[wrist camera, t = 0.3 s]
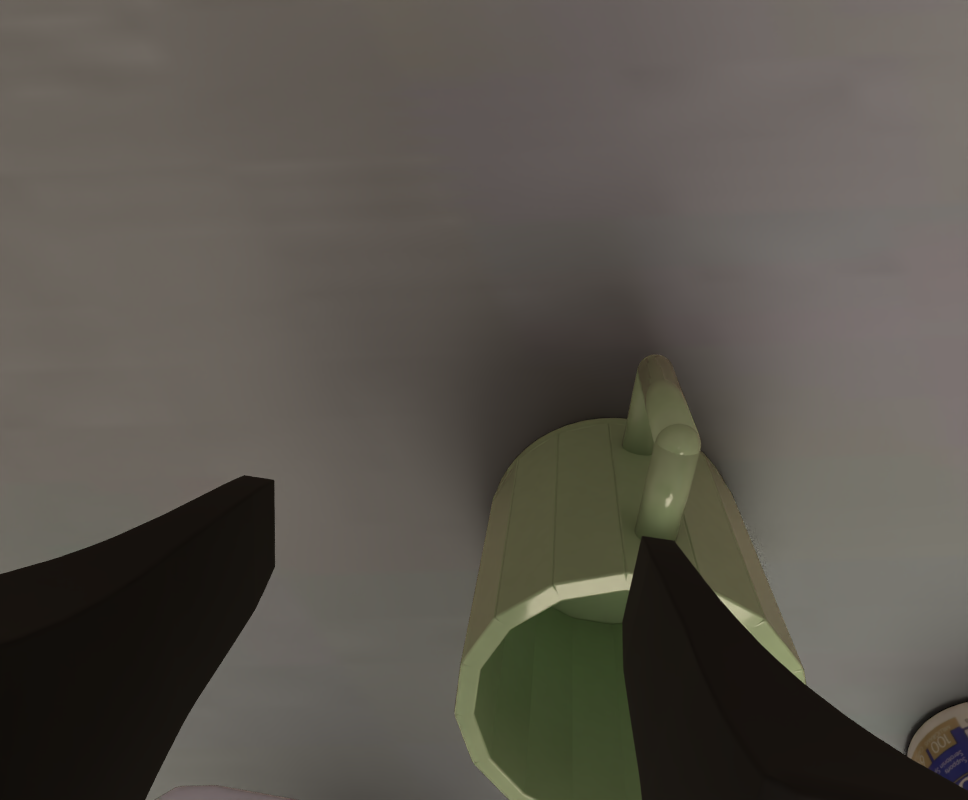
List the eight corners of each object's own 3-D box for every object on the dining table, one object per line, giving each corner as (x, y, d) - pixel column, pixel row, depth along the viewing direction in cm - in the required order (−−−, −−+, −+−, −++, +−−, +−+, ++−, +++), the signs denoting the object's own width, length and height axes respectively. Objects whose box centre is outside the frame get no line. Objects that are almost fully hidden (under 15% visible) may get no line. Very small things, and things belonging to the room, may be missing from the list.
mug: (701, 638, 26) (756, 866, 18) (479, 602, 27) (441, 808, 19) (786, 352, 22) (905, 491, 14) (518, 314, 22) (491, 428, 15)
